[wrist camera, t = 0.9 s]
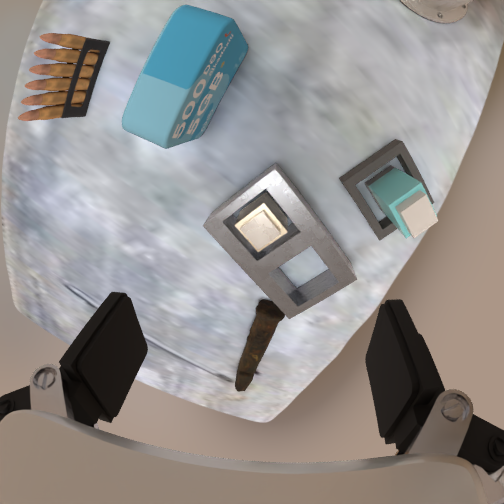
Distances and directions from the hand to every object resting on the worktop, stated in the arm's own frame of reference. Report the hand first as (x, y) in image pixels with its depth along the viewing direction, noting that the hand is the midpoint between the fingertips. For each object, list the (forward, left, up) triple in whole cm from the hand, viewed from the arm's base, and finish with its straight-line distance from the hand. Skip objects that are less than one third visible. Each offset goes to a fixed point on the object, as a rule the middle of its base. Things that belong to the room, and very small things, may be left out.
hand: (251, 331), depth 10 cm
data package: (-1, -13, -25) cm, 28 cm away
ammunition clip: (+9, -26, -25) cm, 37 cm away
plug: (-10, +9, -25) cm, 28 cm away
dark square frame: (-10, +9, -25) cm, 28 cm away
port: (+4, +7, -25) cm, 26 cm away
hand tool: (+18, +19, -25) cm, 37 cm away
